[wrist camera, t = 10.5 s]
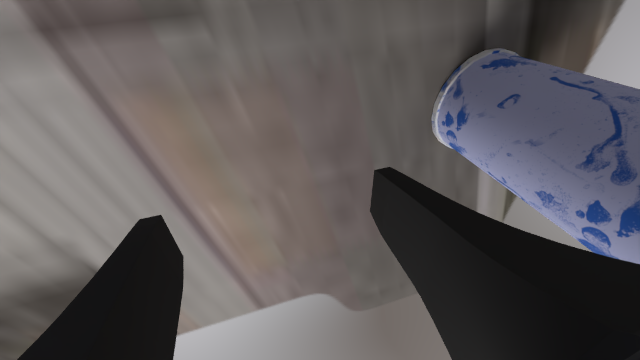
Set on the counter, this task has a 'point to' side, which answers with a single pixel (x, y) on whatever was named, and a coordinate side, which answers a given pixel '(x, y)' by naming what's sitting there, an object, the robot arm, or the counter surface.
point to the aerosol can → (551, 143)
